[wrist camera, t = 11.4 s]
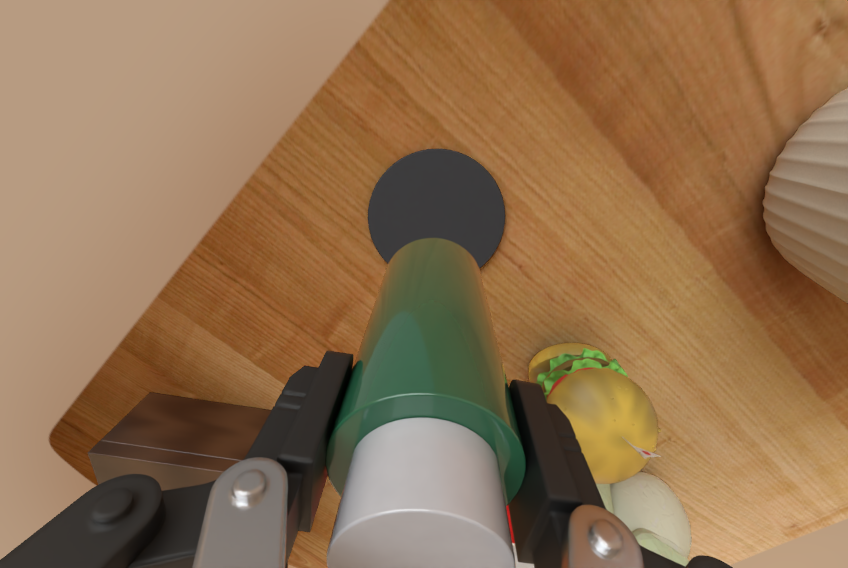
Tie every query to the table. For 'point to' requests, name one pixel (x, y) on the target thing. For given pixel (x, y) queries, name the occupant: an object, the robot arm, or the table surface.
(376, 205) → the coaster
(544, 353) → the hamburger
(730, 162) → the table surface
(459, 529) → the bottle
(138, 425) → the shelf
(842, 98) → the canister
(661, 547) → the figurine
